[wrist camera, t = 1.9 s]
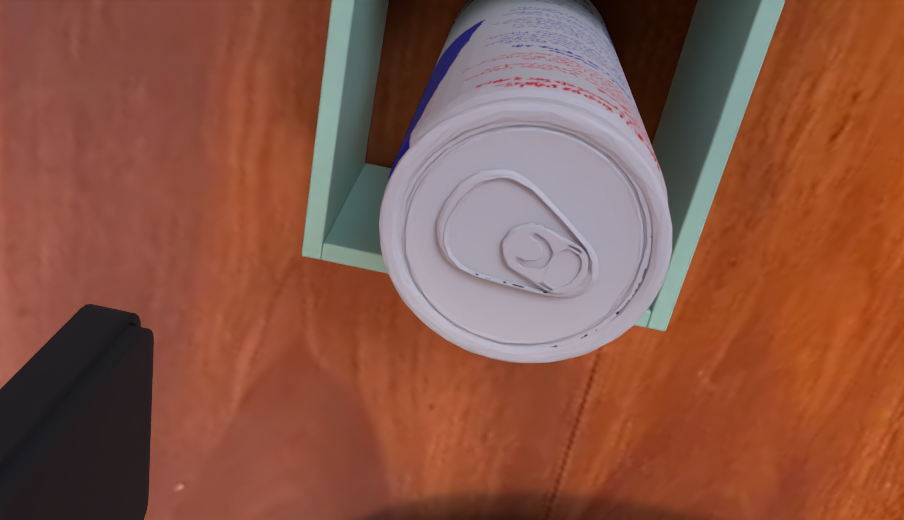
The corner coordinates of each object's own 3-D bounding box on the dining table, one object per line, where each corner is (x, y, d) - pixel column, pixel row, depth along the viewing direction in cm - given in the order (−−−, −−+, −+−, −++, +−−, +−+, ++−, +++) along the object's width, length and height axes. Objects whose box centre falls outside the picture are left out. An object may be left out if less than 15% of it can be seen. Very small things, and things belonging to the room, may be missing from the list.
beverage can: (438, -20, 28) (352, 109, 15) (609, -36, 27) (681, 86, 14) (454, 140, 30) (393, 376, 17) (611, 130, 30) (674, 367, 16)
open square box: (347, 173, 31) (300, 256, 25) (393, -155, 26) (349, -153, 20) (640, 234, 31) (666, 332, 25) (741, -81, 26) (806, -55, 20)
